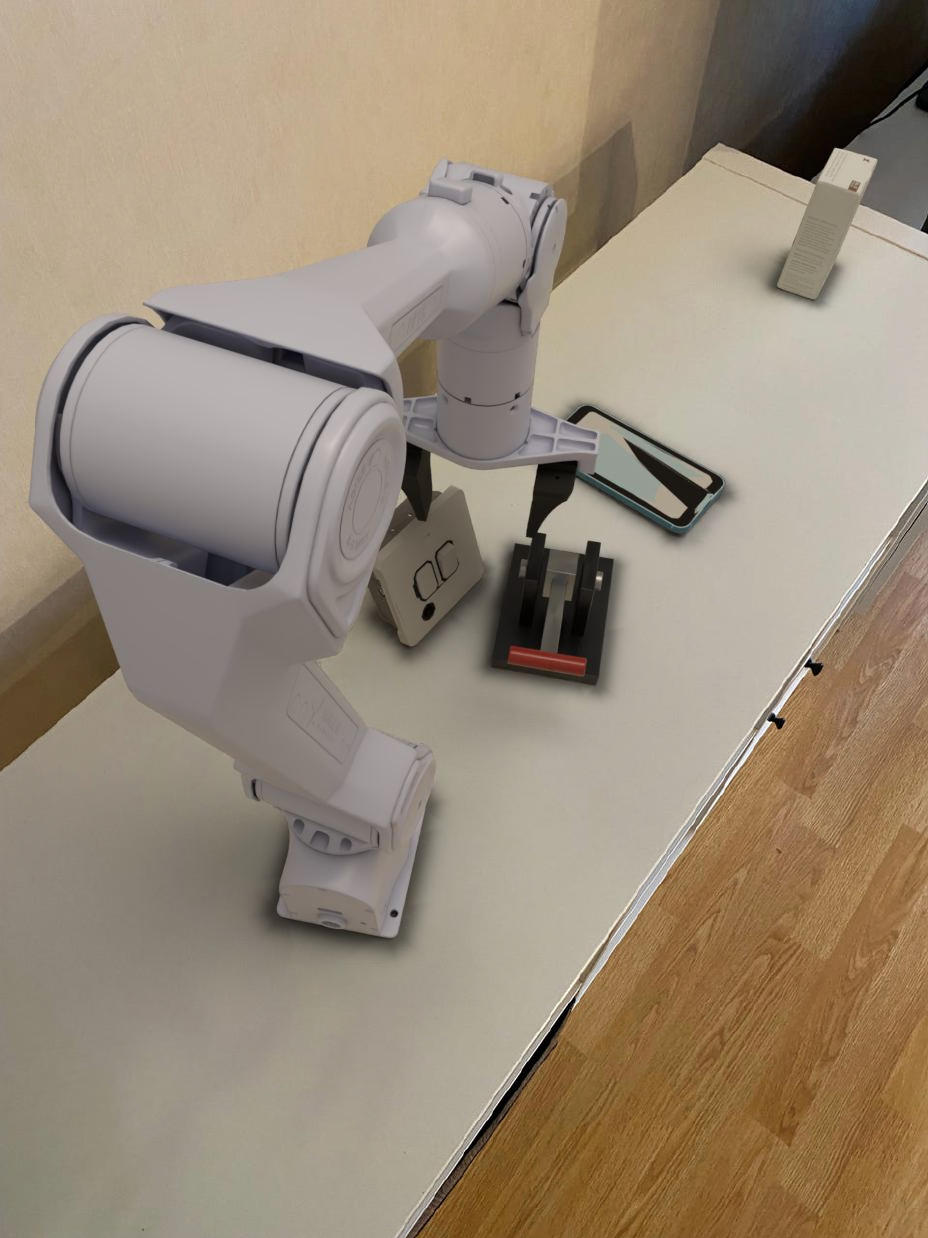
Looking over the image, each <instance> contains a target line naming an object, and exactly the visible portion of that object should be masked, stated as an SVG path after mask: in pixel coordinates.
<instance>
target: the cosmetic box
mask: <svg viewBox="0 0 928 1238" xmlns="http://www.w3.org/2000/svg"><path fill="white" fill-rule="evenodd" d="M877 164H878V159H877V158H874V157H872V156H869V155H865V154H861V153H858V152H854V151H850V150H847V149H843V148H837V147H834V148H833V150H832V152H831V154H830V156H829V158H828V160H827V162H826V163H825V165H824V167H823V168H822V171H821V173H820V175H819V177H818V178H817V181H816V183H815V185H814V189H813V191H812V194H811V197H810V198H809V201H808V203H807V205H806V207H805V211H804V213H803V216H802V218H801V221H800V224H799V227H798V229H797V231H796V234H795V236H794V239H793V242H792V244H791V247H790V250H789V252H788V255H787V257H786V260H785V263H784V265H783V268H782V271H781V273H780V276H779V278H778V281H777V283H776V287H777V288H779V289H781V290H783V291H785V292H788V293H791V294H794V295H797V296H800V297H803V298H807V299H809V300H816V299H817V298H818V296H819V295H820V293H821V290H822V289H823V287H824V285H825V283H826V281H827V279H828V277H829V275H830V273H831V271H832V269H833V267H834V265H835V262H836V260H837V258H838V257H839V254H840V251H841V249H842V247H843V244H844V242H845V240H846V237H847V235H848V233H849V230H850V227H851V225H852V223H853V221H854V218H855V216H856V213H857V211H858V209H859V207H860V204H861V202H862V200H863V197H864V194H865V193H866V190H867V188H868V186H869V183H870V182H871V179H872V176H873V174H874V171H875V169H876V166H877Z"/></svg>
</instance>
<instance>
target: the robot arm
mask: <svg viewBox="0 0 928 1238" xmlns="http://www.w3.org/2000/svg"><path fill="white" fill-rule="evenodd" d="M567 220H568V204H567V201H566V199H565V198H557V197H556V193H555V190H554V186H553V184H552V183H549V182H545V181H541V180H537V179H534V178H529V177H525V176H521V175H516V174H512V173H509V172H504V171H502V170H497V169H493V168H489V167H485V166H480V165H477V164H473V163H469V162H465V161H459V162H456V163H454V162H453V161H452V160H450V159H448V158H447V157H446V156H445V157H442V158H441V159H440V160H439V161H438V162H437V164H436V165H435V167H434V169H433V170H432V172H431V174H430V177H429V179H428V180H427V184H426V185H425V187H424V188H423V189H422V190H420V191H419V192H418V196H417V197H414V198H412V199H409V200H408V201H405V202H402V203H399V204H397V205H395V206H394V207H392V208H391V209H390V210H388V211H387V212H386V213H384V214H383V215H382V216H381V217H380V219H378V221H377V222H376V223H375V224H374V227H373V229H372V230H371V233H370V234H369V237H368V240H367V243H366V246H365V247H364V248H361V249H357V250H354V251H351V252H347V253H344V254H341V255H337V256H333V257H330V258H327V259H324V260H320V261H317V262H313V263H310V264H307V265H304V266H300V267H297V268H294V269H290V270H286V271H283V272H280V273H276V274H273V275H268V276H261V277H255V278H246V279H238V280H228V281H218V282H208V283H197V284H188V285H178V286H170V287H166V288H163V289H162V290H160V291H158V292H157V293H155V294H153V295H151V296H150V297H149V298H147V299H146V300H144V301H143V302H142V305H143V306H144V307H147V308H148V309H150V310H152V311H153V312H154V313H156V314H157V315H158V316H159V318H160V319H161V320H162V322H163V323H164V325H163V326H162V327H161V328H157V327H155V326H154V325H153V324H152V323H151V322H149V321H148V319H145V318H143V317H139V316H136V315H133V314H130V313H127V312H117V311H116V312H114V311H113V312H108V313H103V314H100V315H98V316H96V317H94V318H92V319H90V320H88V321H87V322H86V323H84V324H83V325H82V326H81V327H80V328H79V329H77V331H75V332H74V333H73V334H72V335H71V336H70V338H68V340H67V341H66V342H65V343H64V344H63V346H62V347H61V349H60V351H59V352H58V353H57V355H56V356H55V358H54V359H53V361H52V363H51V364H50V366H49V368H48V370H47V372H46V374H45V377H44V379H43V382H42V384H41V388H40V391H39V394H38V399H37V403H36V407H35V419H34V438H33V446H32V447H33V449H32V457H31V458H32V459H31V469H30V471H31V472H30V480H29V481H30V482H29V493H28V499H27V500H28V505H29V507H30V509H31V510H32V511H33V512H34V513H35V514H36V515H37V517H39V518H40V519H41V520H42V521H43V522H44V524H46V525H47V527H48V528H49V529H50V530H51V531H52V532H53V533H54V534H55V535H56V536H57V537H58V538H59V539H60V540H61V541H62V542H63V544H64V545H65V546H66V547H67V548H68V549H69V550H70V551H71V552H72V553H73V554H74V555H75V556H76V557H77V558H78V560H79V561H80V562H81V564H82V566H83V567H84V570H85V573H86V575H87V578H88V581H89V584H90V587H91V590H92V593H93V595H94V598H95V601H96V604H97V606H98V609H99V613H100V615H101V619H102V621H103V623H104V626H105V629H106V632H107V635H108V637H109V640H110V643H111V646H112V649H113V651H114V653H115V654H114V655H115V657H116V660H117V662H118V663H117V664H118V666H119V669H120V671H121V674H122V677H123V679H124V682H125V685H126V686H127V689H128V691H129V692H130V694H132V696H133V697H134V698H135V699H136V701H137V702H139V703H141V705H144V706H145V707H147V708H148V709H150V710H152V711H154V712H156V713H157V714H158V715H160V716H161V717H163V718H165V719H167V720H169V721H170V722H172V723H174V724H176V725H177V726H179V727H180V728H182V729H183V730H185V731H187V732H188V733H190V734H192V735H193V736H195V737H197V738H198V739H200V740H202V741H203V742H205V743H207V744H209V745H210V746H211V747H213V748H215V749H217V750H218V751H220V752H222V753H224V754H225V755H227V756H229V757H230V758H232V759H233V760H234V761H233V765H232V768H233V769H234V771H237V772H238V773H239V774H240V780H241V783H242V789H243V792H244V794H245V796H246V797H247V798H248V799H250V800H253V801H255V802H260V801H262V802H265V803H267V804H269V805H272V807H273V808H274V809H276V810H278V811H279V812H281V813H282V814H283V815H284V817H285V818H286V821H287V824H288V826H287V827H288V830H289V831H288V832H289V842H288V851H287V856H286V859H285V863H284V866H283V870H282V874H281V877H280V880H279V885H278V892H279V899H278V902H277V905H276V912H277V914H278V915H279V916H280V917H282V918H284V919H290V920H293V921H294V920H295V921H298V922H299V921H300V922H305V923H309V924H314V925H318V926H319V925H321V926H324V927H327V928H330V929H334V930H345V931H350V932H356V933H361V934H365V935H371V936H376V937H380V938H386V939H393V938H395V937H396V936H398V934H399V931H400V926H401V921H402V918H403V913H404V909H405V905H406V899H407V895H408V889H409V887H410V881H411V877H412V872H413V867H414V863H415V858H416V854H417V850H418V845H419V839H420V836H421V830H422V826H423V822H424V817H425V812H426V809H427V807H426V806H427V805H428V804H427V803H428V802H429V798H430V796H431V792H432V789H433V784H434V782H435V777H436V773H437V767H438V765H437V764H438V763H437V759H436V756H435V754H434V750H433V748H432V746H430V745H427V744H426V743H420V744H417V743H414V742H412V741H410V740H406V739H404V738H401V737H399V736H396V735H393V734H390V733H388V732H385V731H383V730H380V729H377V728H374V727H371V726H369V725H368V724H367V723H366V722H365V720H364V719H363V718H362V717H361V715H360V714H359V713H358V712H357V710H356V709H355V708H354V707H353V705H352V704H351V703H350V702H349V701H348V699H347V698H346V697H345V696H344V694H343V693H342V692H341V690H340V689H339V688H338V687H337V686H336V684H335V683H334V682H333V681H332V679H331V678H330V677H329V675H328V674H327V673H326V671H325V670H324V669H323V668H322V667H321V665H320V664H319V663H318V662H317V660H321V659H327V658H331V657H335V656H338V655H339V654H341V652H342V651H343V648H344V646H345V643H346V639H347V635H348V634H349V632H350V631H351V630H352V628H353V627H354V625H355V624H356V622H357V620H358V618H359V614H360V612H361V607H362V605H363V602H364V599H365V596H366V592H367V590H368V583H369V580H370V577H371V574H372V571H373V568H374V564H375V561H376V558H377V555H378V552H379V549H380V546H381V543H382V541H383V539H384V537H385V535H386V532H387V530H388V527H389V525H390V522H391V520H392V517H393V514H394V511H395V508H397V506H398V505H397V504H398V502H399V497H400V493H401V491H402V492H403V494H404V495H405V496H406V498H408V500H409V502H410V504H411V506H412V508H413V510H414V513H415V515H416V518H417V520H418V521H424V522H426V521H427V517H428V513H429V509H430V505H431V501H432V491H433V477H432V476H433V475H432V467H431V465H432V464H431V455H432V454H433V455H435V456H438V457H440V458H442V459H444V460H446V461H448V462H451V463H453V464H455V465H458V466H460V467H463V468H466V469H470V470H476V471H493V470H500V469H501V470H502V469H508V468H518V467H519V468H520V467H528V466H535V465H537V468H536V473H535V478H534V483H533V488H532V500H531V503H530V509H529V514H528V521H527V524H526V525H527V526H526V530H525V538H530V539H532V538H536V535H537V532H539V530H540V528H541V526H542V525H543V524H544V521H545V520H546V519H547V518H548V516H550V514H551V513H552V512H553V511H554V510H556V508H558V507H559V506H560V505H562V504H563V503H566V502H568V500H569V498H570V497H571V496H572V493H573V492H574V488H575V481H576V477H577V475H576V471H577V470H578V471H579V472H581V473H587V474H594V471H595V466H596V461H597V456H598V450H599V442H600V435H601V431H598V430H593V429H588V428H584V427H580V426H578V425H575V424H572V423H570V422H567V421H565V419H563V418H561V417H558V416H556V415H553V414H551V413H548V412H547V411H544V410H542V409H539V408H537V407H534V406H532V404H533V403H532V402H533V395H534V394H533V393H534V385H535V374H536V365H537V358H538V357H537V356H538V346H539V338H540V329H541V320H542V318H543V316H544V315H545V312H546V310H547V309H548V306H549V304H550V300H551V295H552V292H553V286H554V277H555V273H556V269H557V266H558V263H559V261H560V257H561V254H562V249H563V246H564V240H565V235H566V229H567ZM416 339H418V340H427V341H428V340H429V341H436V342H435V343H436V344H435V345H436V346H435V347H436V348H435V351H436V352H435V353H436V356H435V359H436V362H435V363H436V394H434V395H425V396H416V397H406V398H405V397H404V385H403V378H402V374H401V369H400V367H399V363H398V360H397V359H398V358H399V357H400V356H401V354H403V353H404V352H405V351H406V349H407V348H409V347H410V346H411V344H412V343H413V342H415V340H416ZM393 912H396V913H397V915H396V916H394V917H393V916H391V914H392V913H393Z"/></svg>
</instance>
